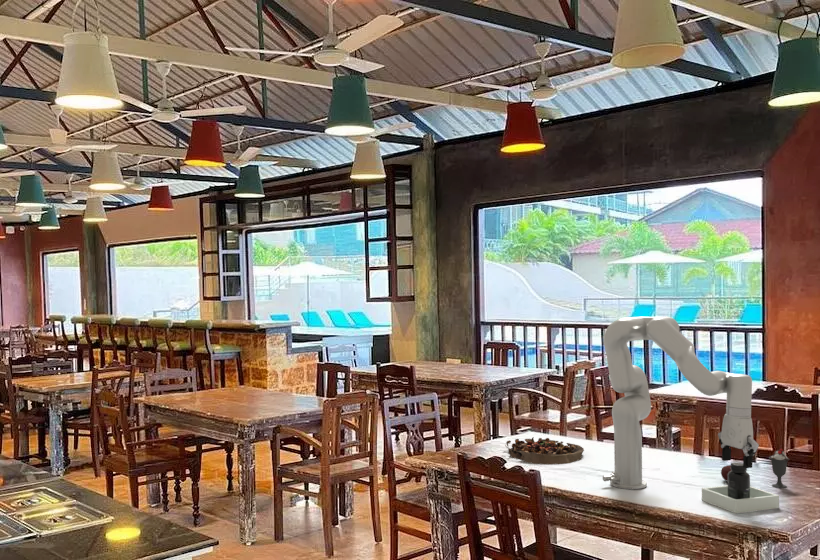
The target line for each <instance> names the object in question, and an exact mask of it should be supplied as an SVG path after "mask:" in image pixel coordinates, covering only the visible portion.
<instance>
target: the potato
mask: <svg viewBox="0 0 820 560" xmlns="http://www.w3.org/2000/svg"><path fill="white" fill-rule="evenodd" d="M730 471H731V464H728V465H725V466H723V467H721V470H720V474H721V477H722V479H723V480H725V481H726V482H727V483H728V473H729V472H730Z"/></svg>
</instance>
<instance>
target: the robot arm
mask: <svg viewBox="0 0 820 560" xmlns="http://www.w3.org/2000/svg"><path fill="white" fill-rule="evenodd" d="M641 340H642V341H645V340H646V341H652V342H654V344H656V345H657V346H658V348H660V349H661V350H662V351H663V352H664V353H666V355H667V356H669V358H671V359H672V361H674V363H675V364H676V366H677V368H678V370H679V371H680V373H681V374H682V375H683V377H684V378H685V379H686V381H688V382H689V384H691V385H692V386H693V387H694V388H695V389H696V390H698V392H700V393H701V394H703V395H706V396H709V397H713V396H716V395H719V394H726V406H725V409H726V410H725V414H724V416H723V419H722V425H721V431H720V432H718V433H717V436H718V439H719V440H718V441H719V443H720V447H721V450H722V452H721V460H722V461H723V462H725V461H726V462H727V461H731V460H732V448H733V449H734V448H735V449H739V450H742V451H743V454H744V455H743V459H742V460H743V462H742V463H743V468H747V469H752V468H753V461H754V460H753V457H754V456H755V454H757V451H758V448H759V443H758V442H757V441H756V440H755V439H754V427H753V419H752V397H753V396H752V393H753V379H752V377H751V376H750V375H748V374H744V373H731V372H727V371H722V370H714V371H711V370H709V369H708V368H707V367H706V366H705V365H704V364H703V363H702V362H701V361H700V360H699V359H698V357H697V355H696V353H695V351H696V350H695V346H694V343H693V342H691V341H690V340H689V339H688V338H687V337H686V336H685V335H684V334H683V333H681V331H680V325H679V323H678V321H677V320H676V319H674V317H671V316H629V317H621V318H619V319H616V320H614V321H613V322H612V323H610V324H609V325H608V326H607V328H606V330H605V332H604V335H603V345H604V346H603V347H604V350H605V355H606V363H607V368H608V373H609V374H608V375H609V380H610V385H611V387H612V389H613V391H615V392H617V393H619V394H623V395H624V396H623V397H620V398H618V399H617V400H615V402H614V403H613V405H612V407H611V408H612V409H611V417H612V422H613V438H614V439H613V440H614V443H613V444H614V446H613V447H614V449H613V450H614V452H613V453H614V471H611V473H610V474H609V475H602V481H603V482H609V483H610V485H611V486H613V487H615V488H618V489H625V490H640V489H641V490H642V489H644V488H647V486H648V485H647V481H645V480H643V449H642V448H643V442H642V441H643V439H642V438H643V437H642V429H641V424H640V421H643V420H645V419H647V418H648V417H649V415H650V413H651V412H652V411H651V410H652V401H651V395H650V389H649V383H648V379H647V376H646V373H645V372H644V370H643V369H642V368H641V367H639V366H638V365H636V364H633V361H632V354H631V352H630V348H629V347H628V343H629V342H633V341H641ZM731 447H732V448H731Z"/></svg>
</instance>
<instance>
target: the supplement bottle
mask: <svg viewBox="0 0 820 560" xmlns="http://www.w3.org/2000/svg"><path fill="white" fill-rule="evenodd" d="M730 465H731V471H730V472H729V473H728V482H727V485H728V497H731V498H734V499H736V500H737V499H745V498H750V486H751V476H750V474H749V472H747V471H748V468H743V462H731V463H730Z"/></svg>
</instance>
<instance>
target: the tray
mask: <svg viewBox="0 0 820 560" xmlns="http://www.w3.org/2000/svg"><path fill="white" fill-rule="evenodd" d="M701 500H702V501H703V502H705V503H708V504H710V505H712V506H713V505H714V506H716V507H718V508H721V509H723V510H726V511H729V512H732V513H734V514H742V513H743V514H744V513H750V512H751V513H752V512H757V511H766V510H774V509H780V495H778V494H775V493H772V492H770V491H767V490H763V489H759V488H758V487H755V486H751V485H750V498H745V499H737V500H736V499H734V498H731V497H728V484H727V485H719V486H710V487H709V486H708V487H702V488H701Z"/></svg>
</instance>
